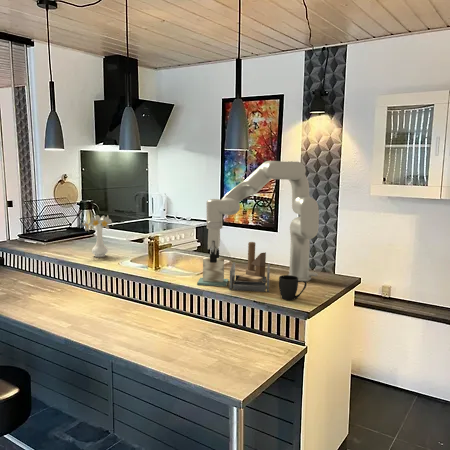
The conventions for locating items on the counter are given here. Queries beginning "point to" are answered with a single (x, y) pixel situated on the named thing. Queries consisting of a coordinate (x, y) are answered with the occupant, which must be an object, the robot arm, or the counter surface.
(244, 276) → the offcut stack
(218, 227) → the robot arm
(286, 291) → the mug
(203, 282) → the mat
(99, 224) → the flower vase
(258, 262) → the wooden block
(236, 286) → the rack
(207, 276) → the birch sheet
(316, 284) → the counter surface
